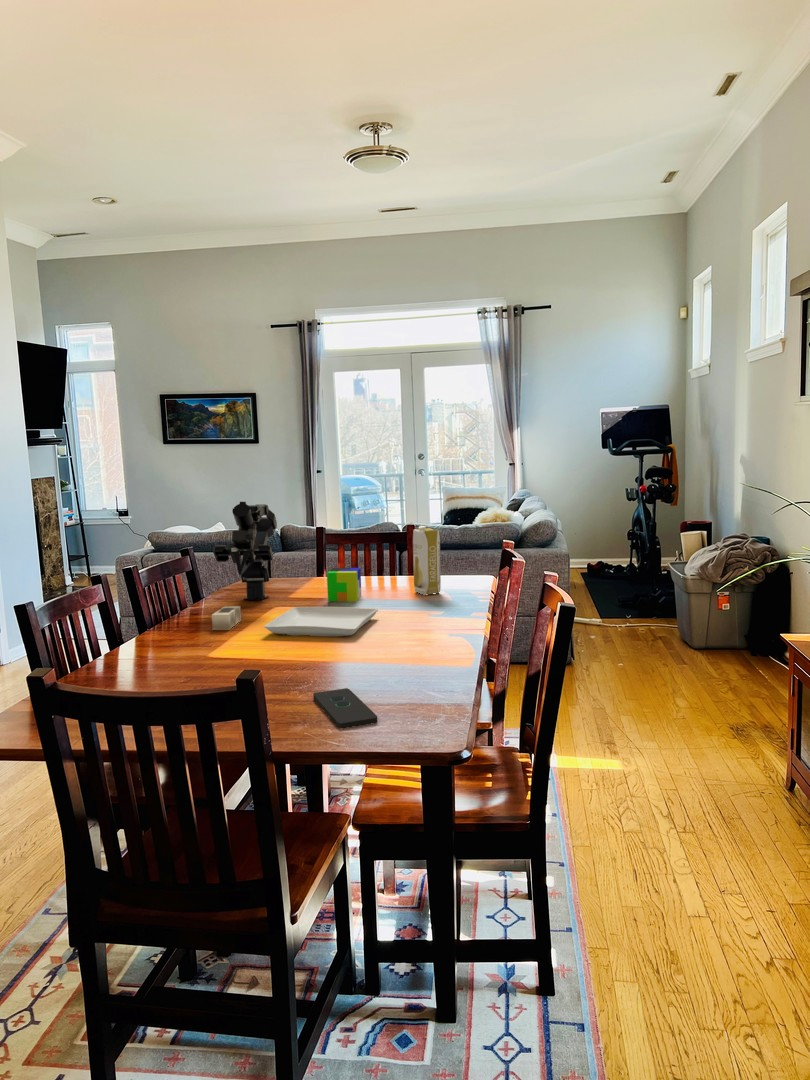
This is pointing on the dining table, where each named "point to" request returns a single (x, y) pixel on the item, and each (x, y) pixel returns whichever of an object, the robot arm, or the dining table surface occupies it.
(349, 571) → the puzzle toy
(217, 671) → the dining table surface
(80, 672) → the dining table surface
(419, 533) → the juice carton
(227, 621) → the metal block
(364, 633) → the dining table surface
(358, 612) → the square plate
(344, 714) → the smart home device
